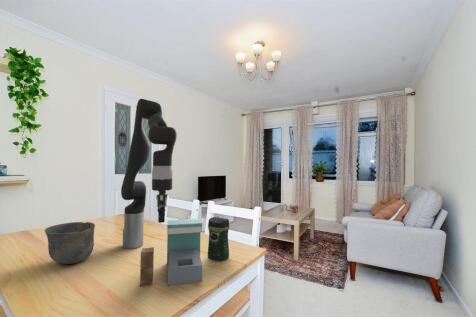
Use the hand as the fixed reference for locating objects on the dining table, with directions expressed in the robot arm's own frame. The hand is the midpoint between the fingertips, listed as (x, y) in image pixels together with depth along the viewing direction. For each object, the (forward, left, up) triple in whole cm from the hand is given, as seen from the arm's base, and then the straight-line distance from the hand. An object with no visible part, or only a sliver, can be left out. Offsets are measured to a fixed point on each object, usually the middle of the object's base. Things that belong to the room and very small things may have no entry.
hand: (161, 219), depth 88 cm
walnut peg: (-5, -4, -22) cm, 22 cm away
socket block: (+9, 0, -22) cm, 23 cm away
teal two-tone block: (+9, +7, -22) cm, 24 cm away
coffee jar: (+24, +11, -22) cm, 34 cm away
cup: (-39, +22, -22) cm, 49 cm away
